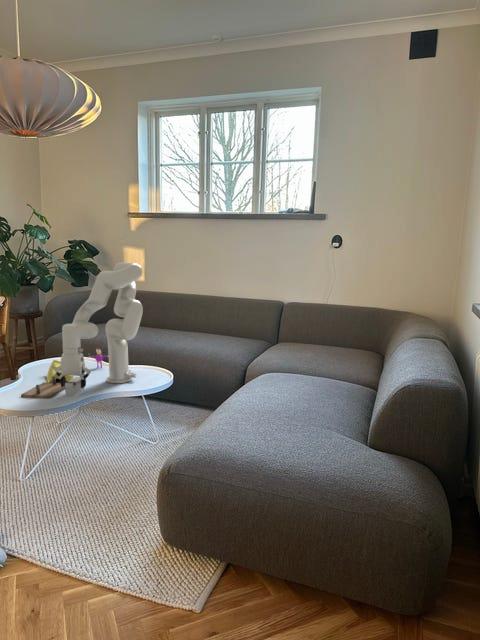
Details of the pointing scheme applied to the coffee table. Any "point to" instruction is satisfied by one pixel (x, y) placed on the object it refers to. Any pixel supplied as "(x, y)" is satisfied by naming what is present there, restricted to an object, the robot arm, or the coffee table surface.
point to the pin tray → (44, 390)
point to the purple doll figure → (99, 356)
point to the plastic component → (53, 373)
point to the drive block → (73, 386)
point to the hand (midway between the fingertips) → (73, 386)
